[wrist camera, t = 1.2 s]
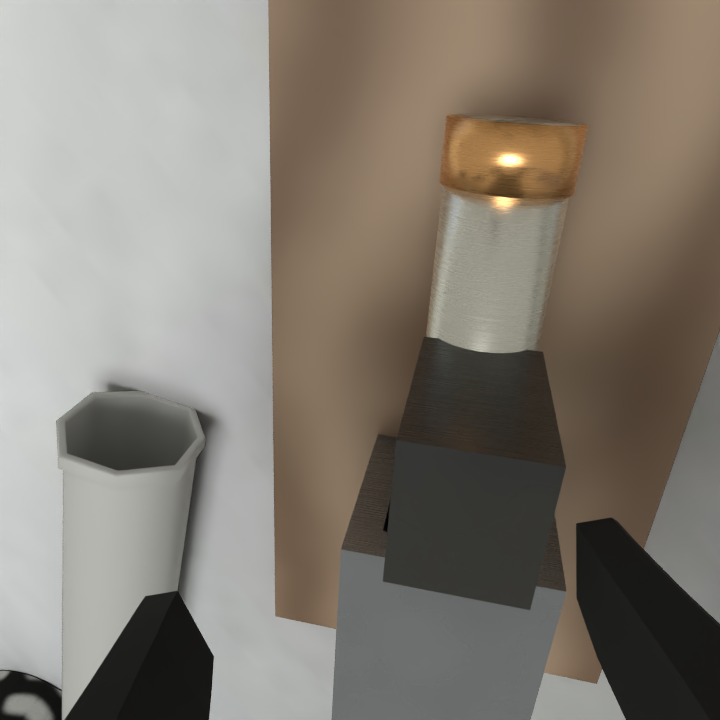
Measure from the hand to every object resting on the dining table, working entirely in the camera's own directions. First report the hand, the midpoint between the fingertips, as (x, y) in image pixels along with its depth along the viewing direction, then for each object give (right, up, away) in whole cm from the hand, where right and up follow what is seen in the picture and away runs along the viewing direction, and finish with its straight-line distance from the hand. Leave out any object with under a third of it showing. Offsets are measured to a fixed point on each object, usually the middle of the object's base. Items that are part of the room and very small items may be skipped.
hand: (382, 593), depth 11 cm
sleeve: (+3, -3, +12) cm, 13 cm away
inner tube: (+3, +2, +8) cm, 9 cm away
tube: (-11, -8, +19) cm, 24 cm away
